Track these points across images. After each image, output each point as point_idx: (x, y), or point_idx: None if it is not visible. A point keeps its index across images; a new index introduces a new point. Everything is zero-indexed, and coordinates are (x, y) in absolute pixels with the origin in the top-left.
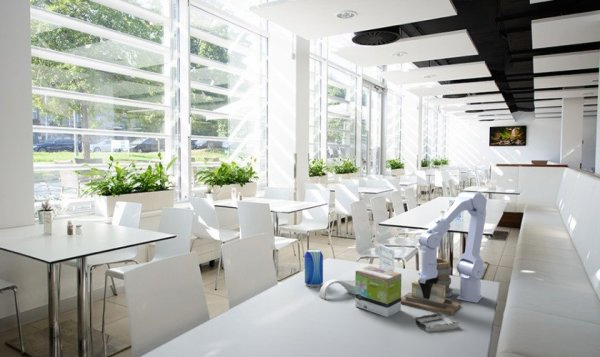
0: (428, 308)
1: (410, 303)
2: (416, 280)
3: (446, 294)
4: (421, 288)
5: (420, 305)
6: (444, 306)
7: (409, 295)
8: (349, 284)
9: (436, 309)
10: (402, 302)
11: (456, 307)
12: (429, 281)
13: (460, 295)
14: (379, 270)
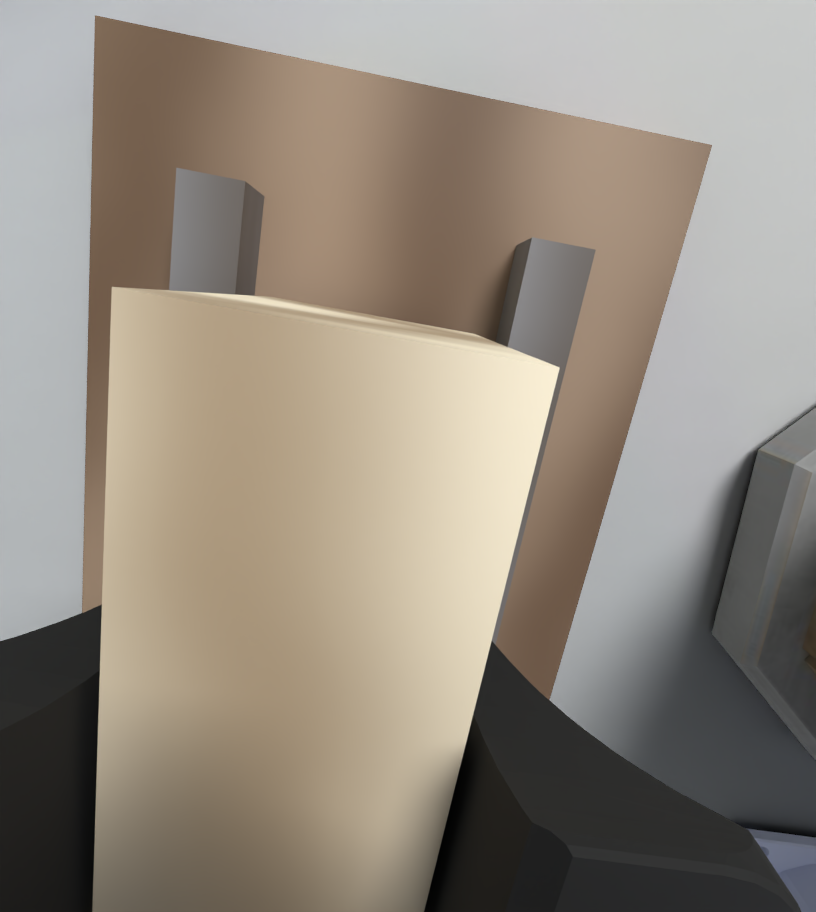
0: (89, 606)
1: (89, 318)
2: (547, 404)
3: (799, 738)
4: (24, 641)
5: (92, 494)
6: None
7: (515, 197)
8: None
9: None
10: (100, 152)
11: None
12: (460, 890)
13: (806, 887)
14: None
